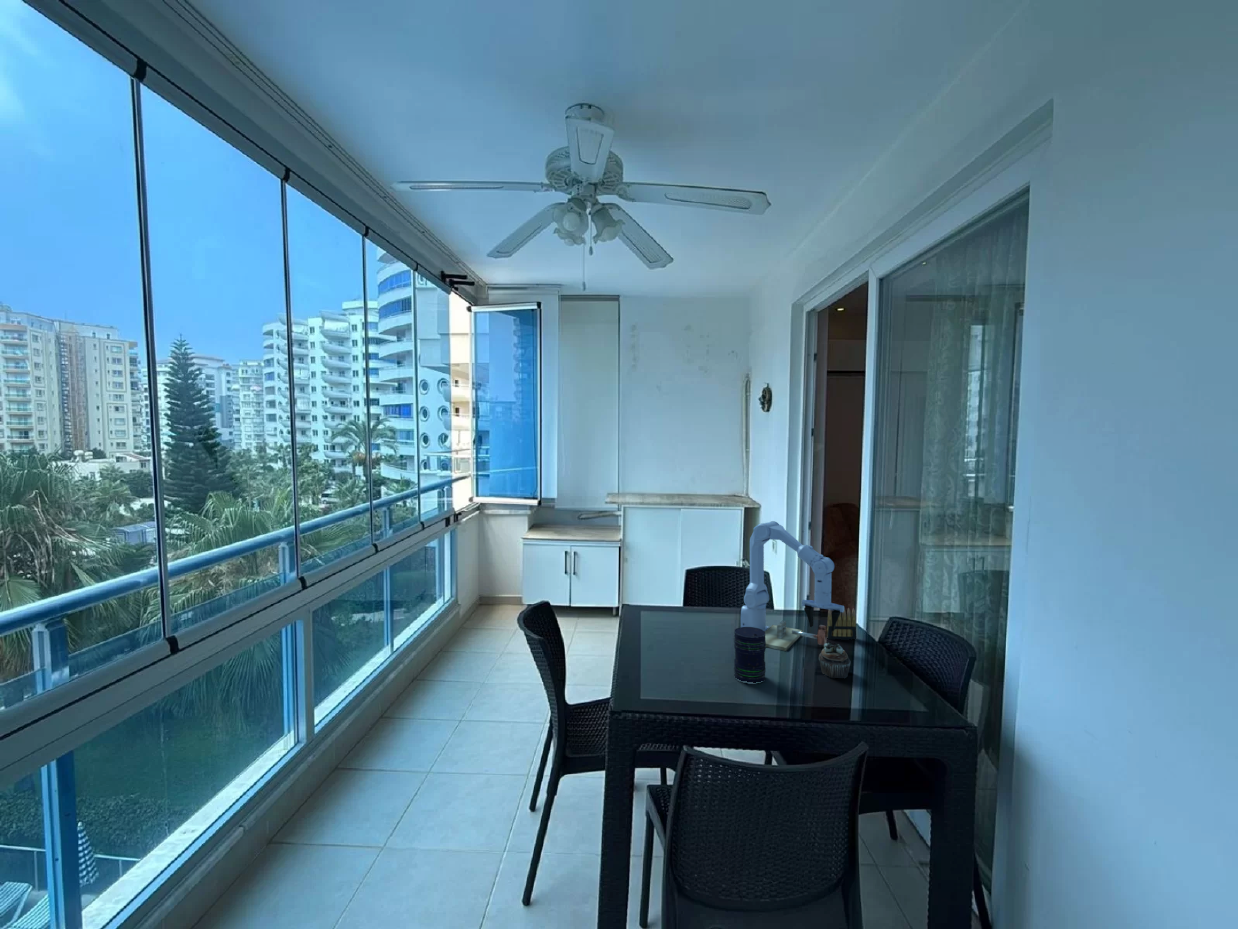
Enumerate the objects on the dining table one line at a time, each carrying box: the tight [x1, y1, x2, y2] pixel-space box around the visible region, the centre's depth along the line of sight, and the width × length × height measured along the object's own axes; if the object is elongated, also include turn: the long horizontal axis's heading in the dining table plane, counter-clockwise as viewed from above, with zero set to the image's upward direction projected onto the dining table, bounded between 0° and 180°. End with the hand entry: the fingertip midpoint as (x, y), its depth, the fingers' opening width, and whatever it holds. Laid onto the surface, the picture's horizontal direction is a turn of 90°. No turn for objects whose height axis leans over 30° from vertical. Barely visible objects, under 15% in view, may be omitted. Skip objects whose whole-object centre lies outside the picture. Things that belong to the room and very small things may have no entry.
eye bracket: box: [765, 620, 804, 652], centre depth 213 cm, size 12×22×6 cm, turn 147°
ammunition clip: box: [826, 607, 857, 641], centre depth 212 cm, size 11×2×12 cm, turn 86°
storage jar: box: [733, 626, 767, 683], centre depth 177 cm, size 10×10×15 cm
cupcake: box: [818, 641, 852, 679], centre depth 180 cm, size 10×10×10 cm
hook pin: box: [792, 624, 828, 646], centre depth 206 cm, size 12×7×7 cm, turn 57°
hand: (822, 628), depth 204 cm, fingers open, 7 cm apart
